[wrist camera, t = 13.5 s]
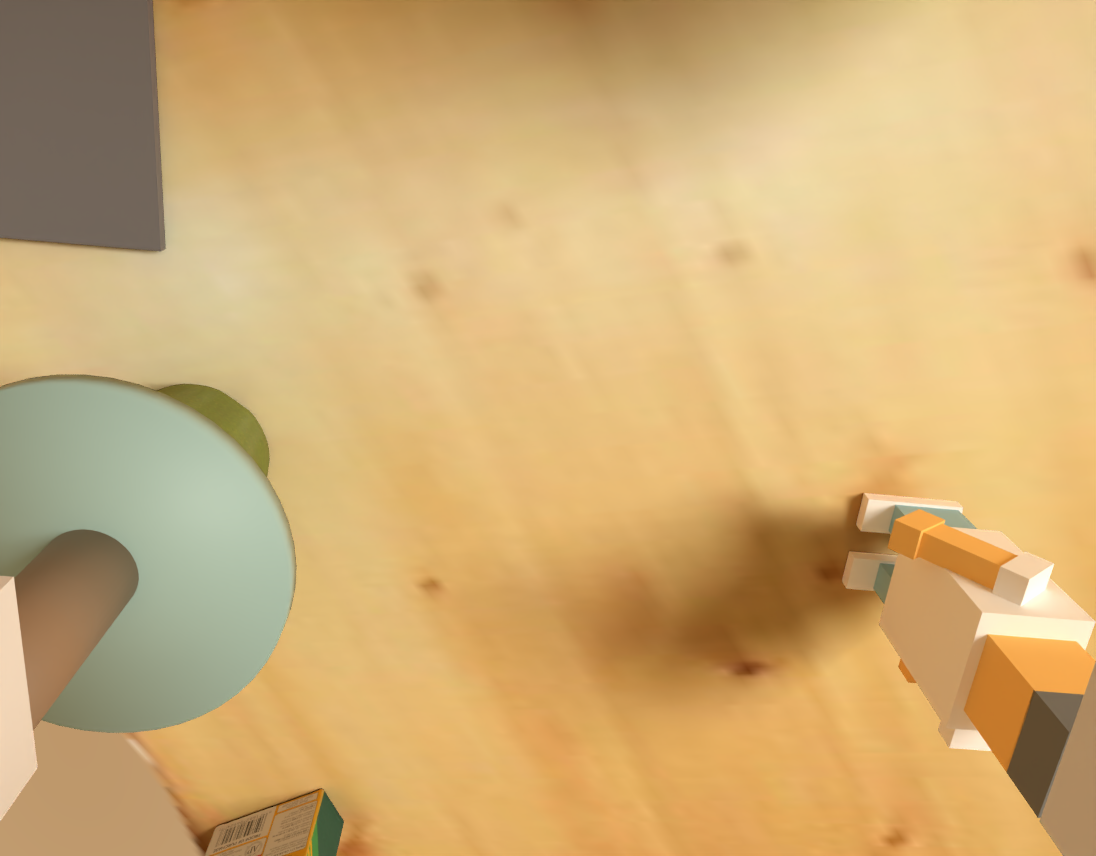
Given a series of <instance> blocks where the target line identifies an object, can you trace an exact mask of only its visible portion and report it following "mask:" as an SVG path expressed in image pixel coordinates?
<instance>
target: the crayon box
mask: <svg viewBox="0 0 1096 856" xmlns="http://www.w3.org/2000/svg"><path fill="white" fill-rule="evenodd" d="M343 823H344V821H343V819H342V818H341V816H340V815H339V813H338V812H337V810H336V809H335V807H334V805H333V804H332V802H331V801H330V799H329V798H328V796H327V794H326V793H325V791H324V790H323V789H319V790H316V791H314V792H313V793H310V794H308V795H305V796H302V797H299V798H297V799H294V800H291V801H288V802H285V803H283V804H280V805H277V806H274V807H271V808H268V809H265V810H262V811H259V812H257V813H254V814H251V815H248V816H246V817H243V818H240V819H237V820H234V821H232V822H229V823H227V824H221V825H219V826H217V827H216V828H215V830H214V833H213V835H212V838H211V841H210V843H209V846H208V849H207V851H206V854H205V856H336V853H337V849H338V845H339V841H340V836H341V832H342V828H343Z"/></svg>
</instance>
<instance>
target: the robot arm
mask: <svg viewBox="0 0 1096 856" xmlns="http://www.w3.org/2000/svg"><path fill="white" fill-rule="evenodd" d="M37 768H38V767H37V759H36V751H35V743H34V735H33V727H32V719H31V711H30V703H29V695H28V687H27V679H26V670H25V662H24V654H23V646H22V638H21V630H20V622H19V614H18V606H17V598H16V590H15V582H14V577H11V576H0V821H1V819H2V818H3V817H4V815H5V814H6V812H7V811H8V809H9V808H10V807H11V805H12V804H13V802H14V801H15V799H16V798H17V796H18V795H19V794H20V792H21V791H22V789H23V788H24V786H25V785H26V784H27V782H28V781H29V779H30V778H31V776H32V775H33V773H34V772H35V771H36V769H37ZM1040 823H1041V824H1042V826H1043V827H1044V829H1045V830H1046V832H1047V833H1048V834H1049V836H1050V837H1051V839H1052V840H1053V842H1054V843H1055V845H1056V846H1057V847H1058V849H1059V850H1060V852H1061V853H1062V855H1063V856H1096V662H1095V665H1094V668H1093V671H1092V673H1091V676H1090V679H1089V682H1088V685H1087V688H1086V690H1085V693H1084V696H1083V699H1082V702H1081V705H1080V707H1079V710H1078V713H1077V716H1076V719H1075V722H1074V724H1073V727H1072V730H1071V733H1070V736H1069V739H1068V742H1067V744H1066V747H1065V750H1064V753H1063V756H1062V759H1061V761H1060V764H1059V767H1058V770H1057V773H1056V776H1055V778H1054V781H1053V784H1052V787H1051V790H1050V793H1049V796H1048V798H1047V801H1046V804H1045V807H1044V810H1043V813H1042V815H1041V818H1040Z"/></svg>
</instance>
